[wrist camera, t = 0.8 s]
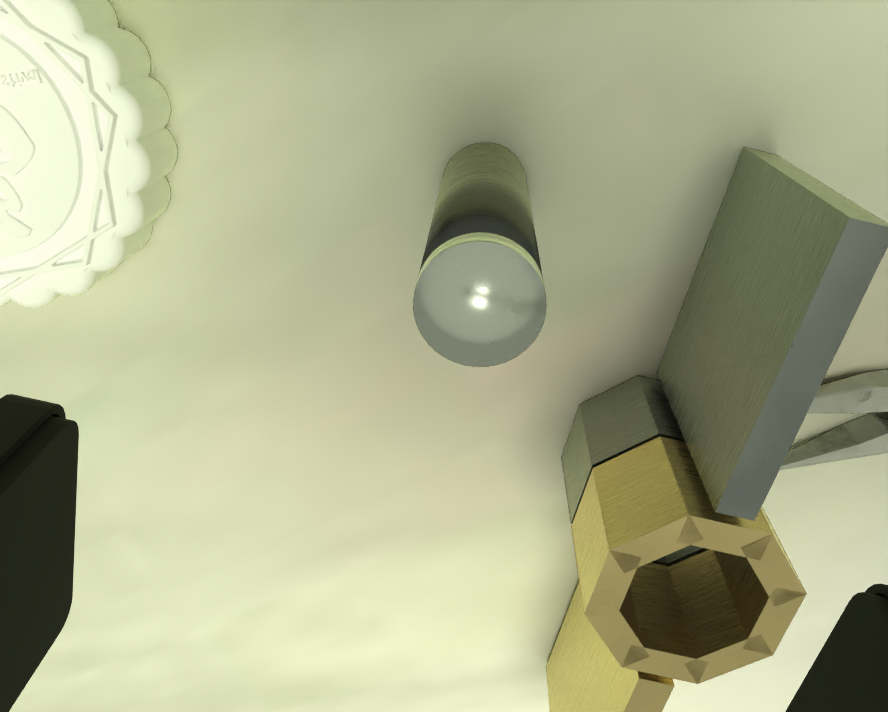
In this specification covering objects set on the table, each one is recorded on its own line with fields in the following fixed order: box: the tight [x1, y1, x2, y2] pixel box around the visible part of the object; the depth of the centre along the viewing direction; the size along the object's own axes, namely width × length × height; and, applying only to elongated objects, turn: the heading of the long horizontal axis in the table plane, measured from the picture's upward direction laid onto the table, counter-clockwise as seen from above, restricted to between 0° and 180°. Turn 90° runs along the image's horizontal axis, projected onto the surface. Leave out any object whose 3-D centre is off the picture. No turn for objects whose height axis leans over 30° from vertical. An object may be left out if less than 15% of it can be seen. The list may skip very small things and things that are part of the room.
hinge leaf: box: [546, 436, 806, 712], centre depth 31 cm, size 6×16×9 cm, turn 167°
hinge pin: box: [413, 142, 546, 367], centre depth 24 cm, size 3×3×12 cm
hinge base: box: [561, 147, 888, 567], centre depth 27 cm, size 6×16×9 cm, turn 167°
